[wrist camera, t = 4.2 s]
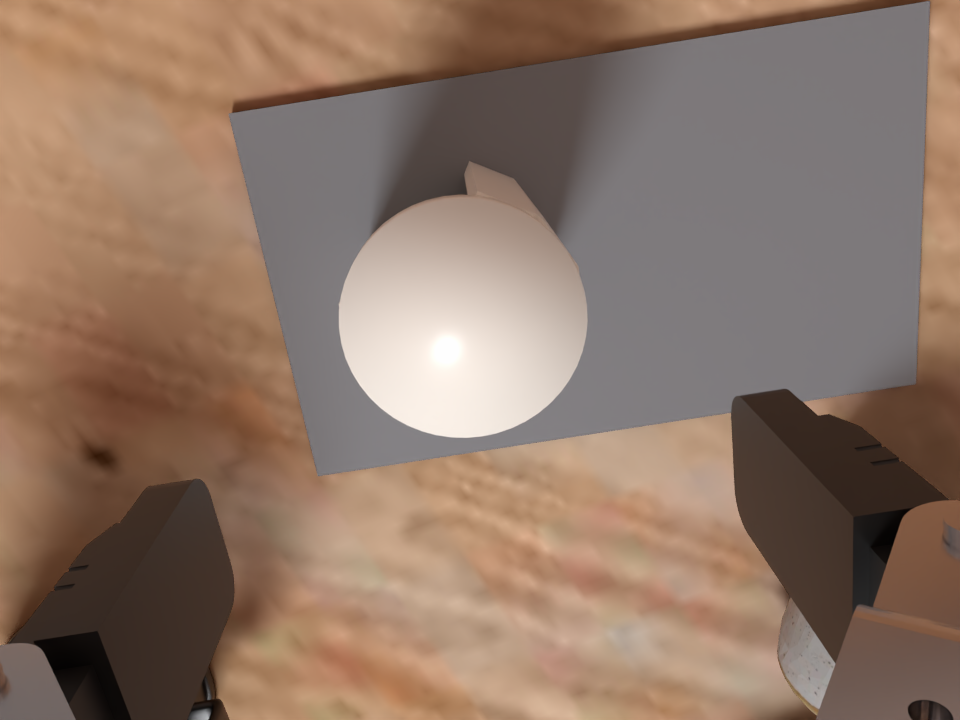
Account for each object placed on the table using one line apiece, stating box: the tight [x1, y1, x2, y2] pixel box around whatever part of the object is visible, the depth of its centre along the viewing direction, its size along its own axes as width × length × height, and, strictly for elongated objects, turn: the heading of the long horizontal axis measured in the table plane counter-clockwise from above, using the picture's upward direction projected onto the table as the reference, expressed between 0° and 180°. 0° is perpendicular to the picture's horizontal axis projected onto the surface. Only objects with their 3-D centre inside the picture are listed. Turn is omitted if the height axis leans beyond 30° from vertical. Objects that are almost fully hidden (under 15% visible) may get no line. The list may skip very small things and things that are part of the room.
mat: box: [229, 1, 930, 476], centre depth 29 cm, size 24×14×1 cm, turn 99°
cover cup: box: [339, 161, 588, 438], centre depth 25 cm, size 6×6×9 cm
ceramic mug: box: [777, 597, 835, 715], centre depth 31 cm, size 11×8×8 cm
